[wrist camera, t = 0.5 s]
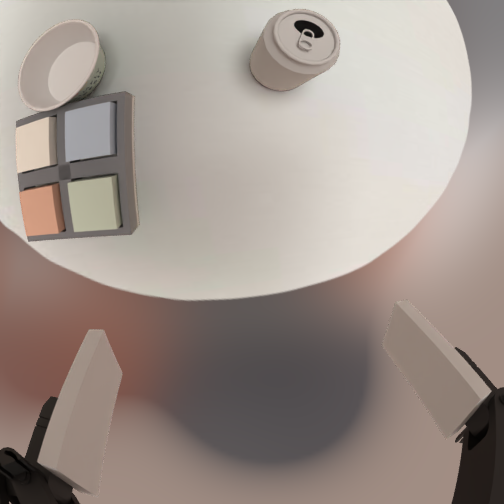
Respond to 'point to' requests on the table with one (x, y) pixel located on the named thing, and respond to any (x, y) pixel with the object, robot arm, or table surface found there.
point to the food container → (61, 66)
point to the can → (294, 49)
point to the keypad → (90, 166)
